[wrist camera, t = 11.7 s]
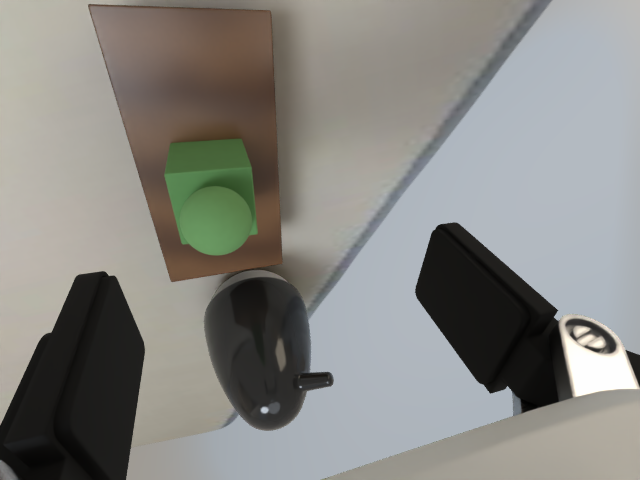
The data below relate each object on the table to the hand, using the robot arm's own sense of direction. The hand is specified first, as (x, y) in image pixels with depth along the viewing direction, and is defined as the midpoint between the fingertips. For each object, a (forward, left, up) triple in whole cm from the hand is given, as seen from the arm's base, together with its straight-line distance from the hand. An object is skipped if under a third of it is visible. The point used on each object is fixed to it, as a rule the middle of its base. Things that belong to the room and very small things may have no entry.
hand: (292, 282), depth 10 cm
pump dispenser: (+19, 0, -21) cm, 28 cm away
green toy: (+2, -2, -15) cm, 15 cm away
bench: (+2, -2, -21) cm, 21 cm away
